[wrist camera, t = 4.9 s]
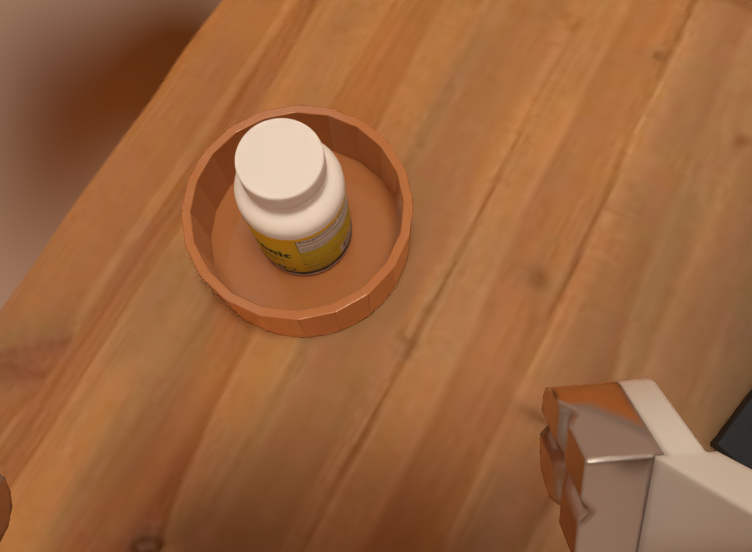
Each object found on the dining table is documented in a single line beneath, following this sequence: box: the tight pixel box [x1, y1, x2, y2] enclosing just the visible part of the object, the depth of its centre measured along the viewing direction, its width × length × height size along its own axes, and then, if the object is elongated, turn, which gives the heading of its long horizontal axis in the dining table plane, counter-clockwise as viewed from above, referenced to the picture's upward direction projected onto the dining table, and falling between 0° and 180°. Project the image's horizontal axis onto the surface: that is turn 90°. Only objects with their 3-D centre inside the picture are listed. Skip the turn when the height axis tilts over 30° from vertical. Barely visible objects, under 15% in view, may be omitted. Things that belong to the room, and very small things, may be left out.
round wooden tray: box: [181, 105, 413, 337], centre depth 36 cm, size 12×12×4 cm
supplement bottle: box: [234, 118, 352, 276], centre depth 33 cm, size 5×5×10 cm
